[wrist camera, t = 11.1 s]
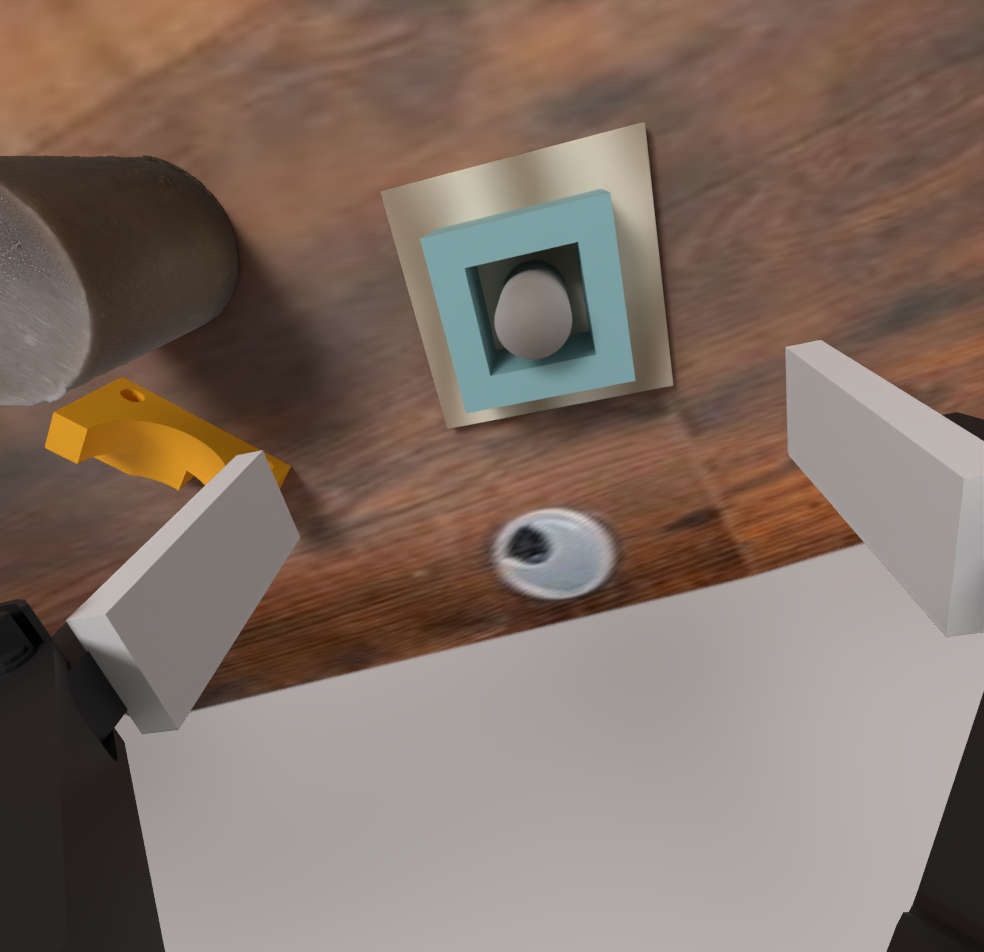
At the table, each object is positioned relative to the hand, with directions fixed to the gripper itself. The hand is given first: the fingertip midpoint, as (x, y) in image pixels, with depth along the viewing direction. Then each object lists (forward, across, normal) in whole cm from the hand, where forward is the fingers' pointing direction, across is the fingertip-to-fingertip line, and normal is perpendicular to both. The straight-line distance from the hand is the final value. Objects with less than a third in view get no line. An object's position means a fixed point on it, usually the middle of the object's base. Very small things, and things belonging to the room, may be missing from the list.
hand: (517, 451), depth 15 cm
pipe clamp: (+23, -24, -6) cm, 34 cm away
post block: (+23, 0, 0) cm, 23 cm away
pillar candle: (+23, -21, +7) cm, 32 cm away
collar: (+22, 0, 0) cm, 22 cm away
